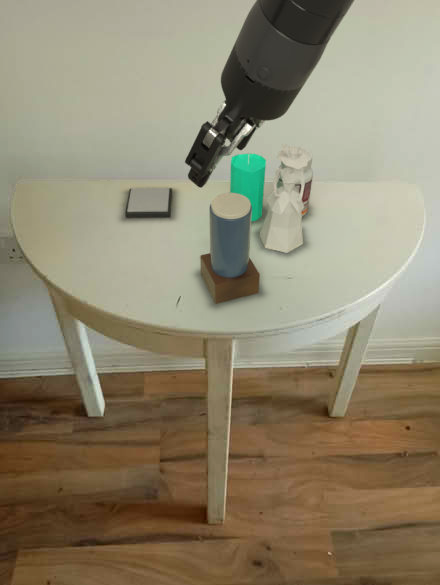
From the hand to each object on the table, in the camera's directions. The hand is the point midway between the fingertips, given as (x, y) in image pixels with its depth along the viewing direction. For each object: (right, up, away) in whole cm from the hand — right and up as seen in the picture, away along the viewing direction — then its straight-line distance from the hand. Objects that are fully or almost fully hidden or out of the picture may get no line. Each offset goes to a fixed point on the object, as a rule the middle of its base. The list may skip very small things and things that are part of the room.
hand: (216, 162), depth 60 cm
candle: (+5, -1, +31) cm, 32 cm away
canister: (+2, -11, +15) cm, 19 cm away
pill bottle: (+13, -1, +32) cm, 35 cm away
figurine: (+11, -6, +26) cm, 29 cm away
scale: (-13, +1, +33) cm, 35 cm away
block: (+2, -14, +18) cm, 23 cm away
